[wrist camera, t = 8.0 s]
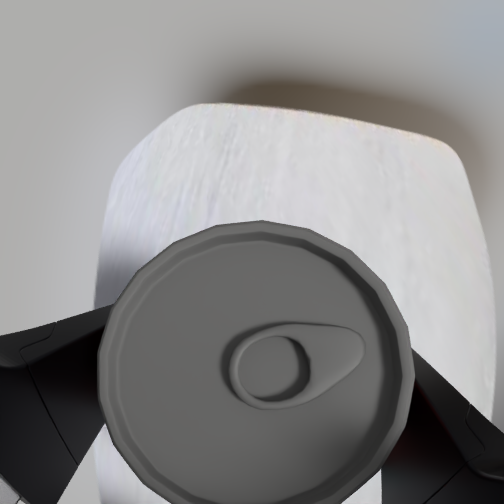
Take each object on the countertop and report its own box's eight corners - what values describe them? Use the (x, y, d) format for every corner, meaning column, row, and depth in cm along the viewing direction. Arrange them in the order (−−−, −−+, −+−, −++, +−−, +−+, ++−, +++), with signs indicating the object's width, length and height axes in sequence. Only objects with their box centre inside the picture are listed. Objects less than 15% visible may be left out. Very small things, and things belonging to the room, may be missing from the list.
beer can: (344, 424, 14) (471, 477, 3) (220, 454, 14) (117, 556, 3) (312, 309, 17) (367, 166, 6) (194, 338, 17) (65, 241, 6)
